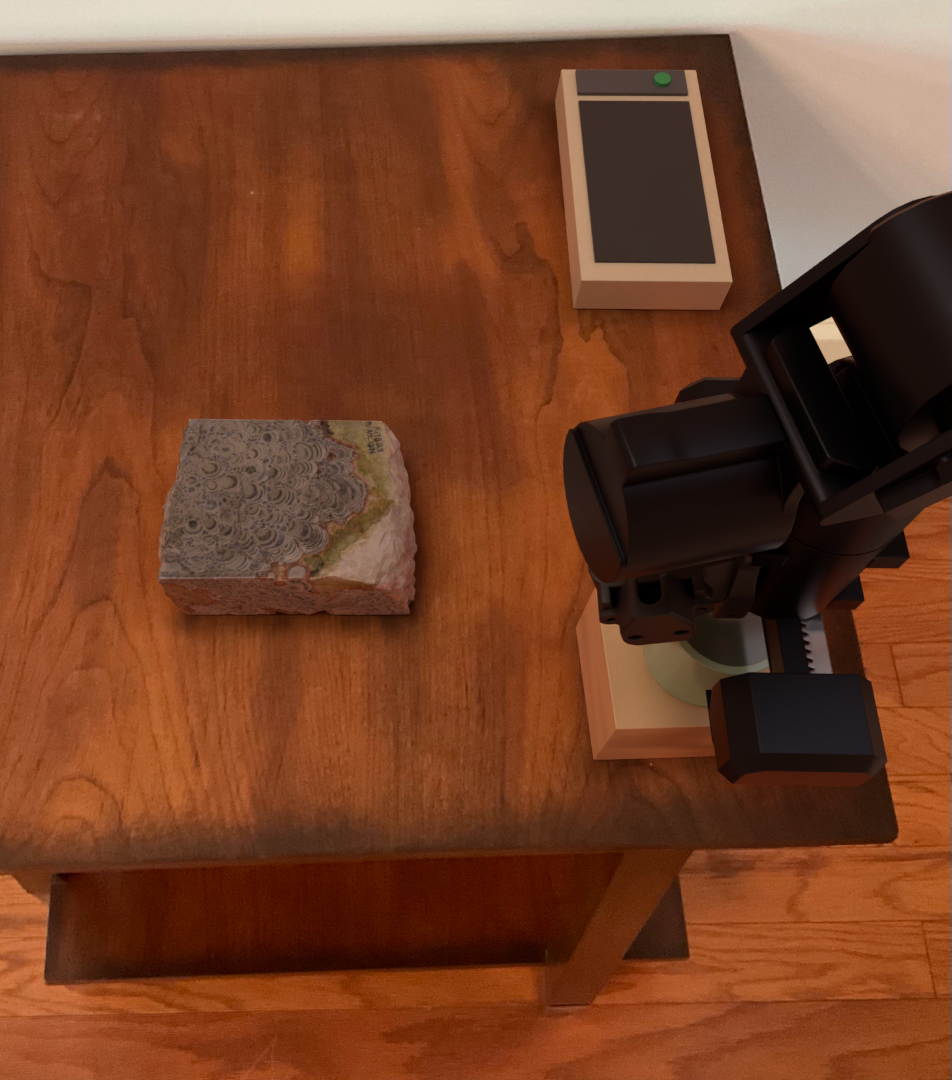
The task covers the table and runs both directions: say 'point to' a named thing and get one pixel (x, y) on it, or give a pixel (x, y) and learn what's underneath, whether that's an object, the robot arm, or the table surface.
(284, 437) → the geological specimen
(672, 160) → the copier
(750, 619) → the cup
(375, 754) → the table surface
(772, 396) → the robot arm
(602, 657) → the riser
